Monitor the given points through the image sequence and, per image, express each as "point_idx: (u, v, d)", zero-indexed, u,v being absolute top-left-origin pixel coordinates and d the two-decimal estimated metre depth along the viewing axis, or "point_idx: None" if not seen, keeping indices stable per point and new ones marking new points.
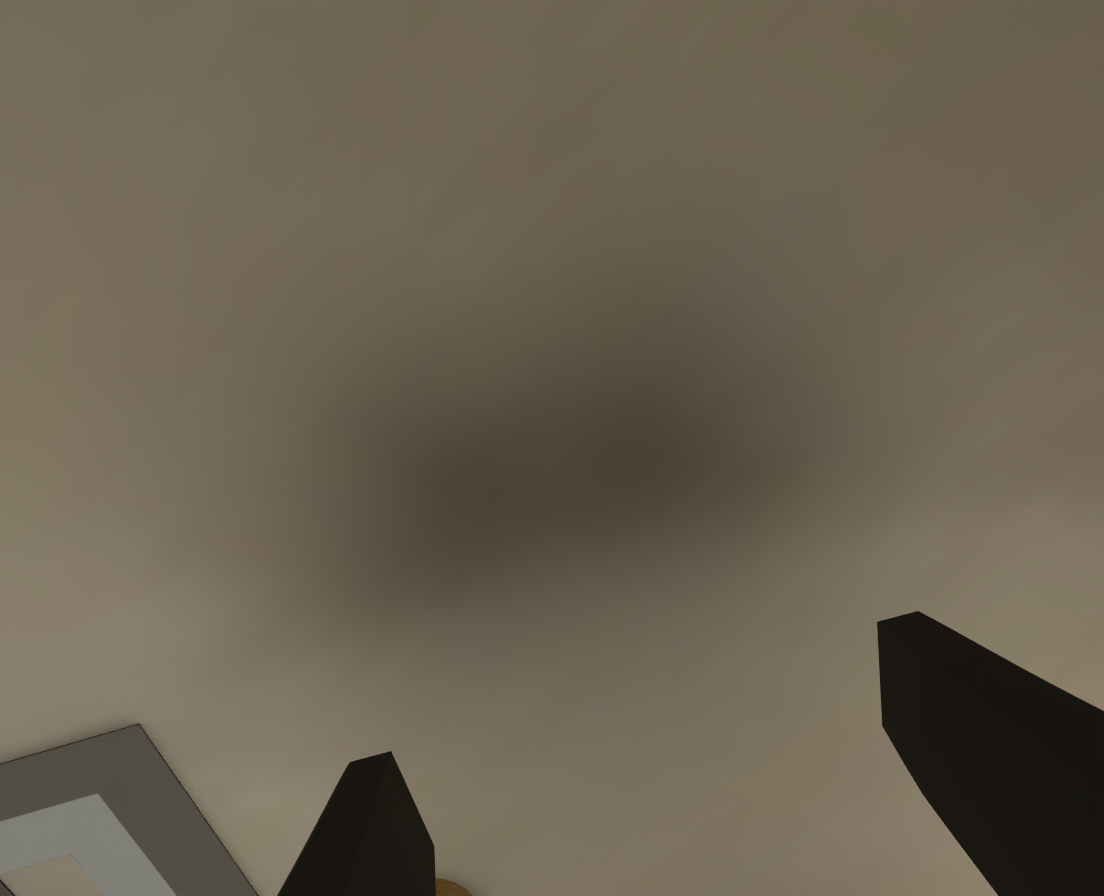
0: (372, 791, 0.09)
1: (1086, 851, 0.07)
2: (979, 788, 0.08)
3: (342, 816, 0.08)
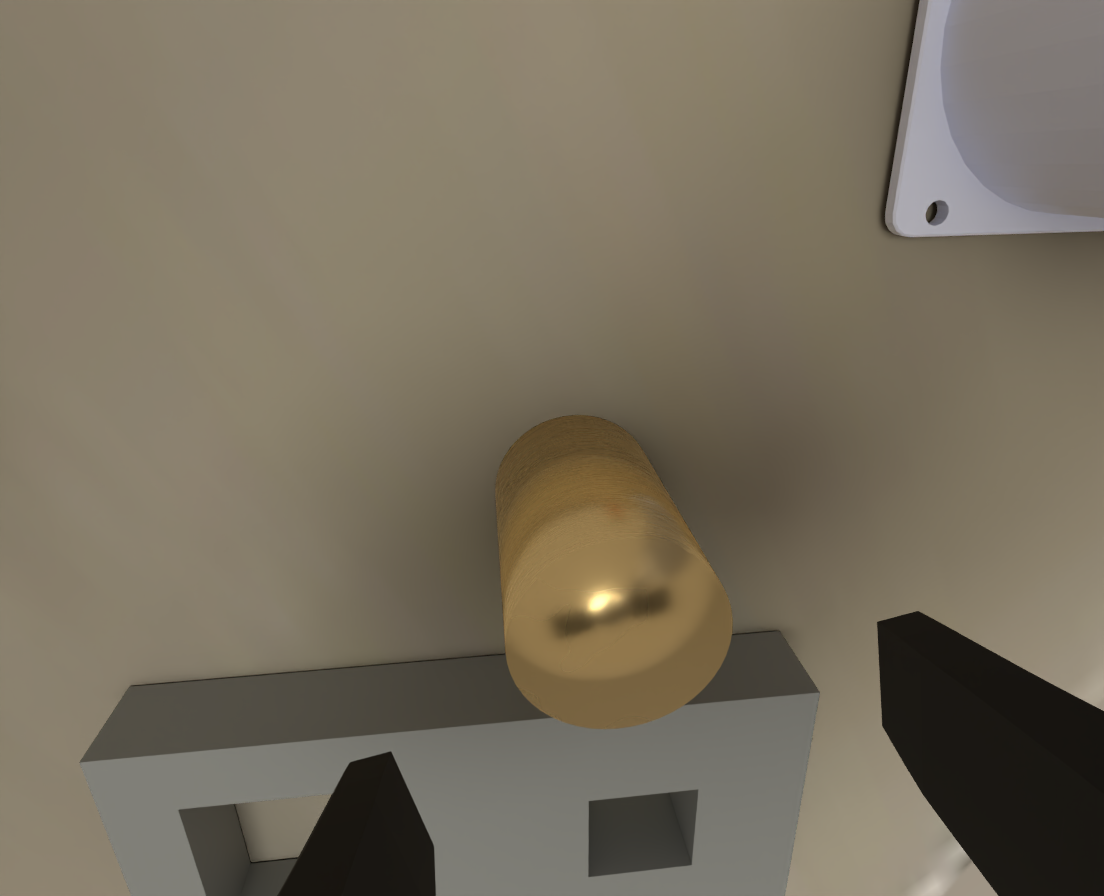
0: (372, 791, 0.09)
1: (1086, 851, 0.07)
2: (978, 787, 0.08)
3: (342, 816, 0.08)
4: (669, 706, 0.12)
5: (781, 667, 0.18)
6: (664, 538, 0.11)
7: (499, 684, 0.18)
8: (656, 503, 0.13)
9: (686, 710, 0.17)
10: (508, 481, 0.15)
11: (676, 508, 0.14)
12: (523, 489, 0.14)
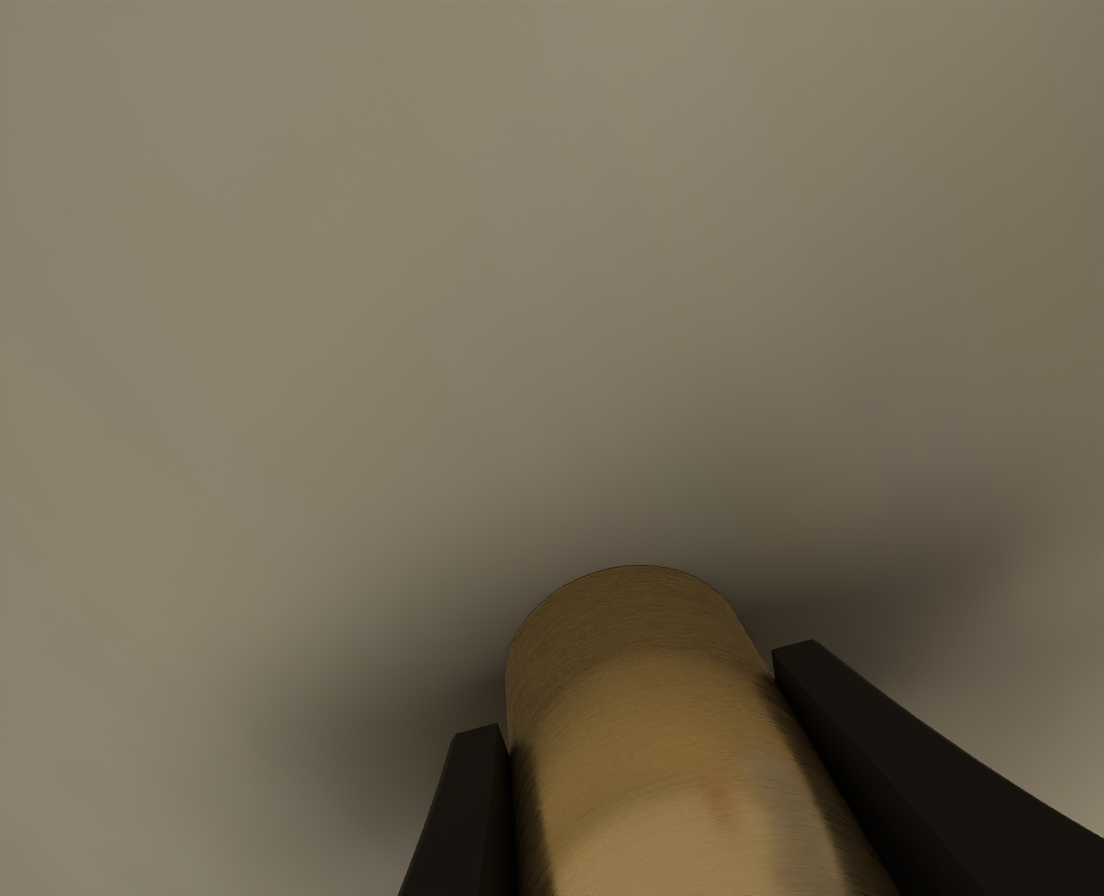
0: (488, 760, 0.09)
1: (933, 892, 0.07)
2: None
3: (464, 784, 0.08)
4: None
5: None
6: None
7: None
8: (820, 816, 0.07)
9: None
10: (529, 695, 0.09)
11: (833, 782, 0.08)
12: (557, 740, 0.08)
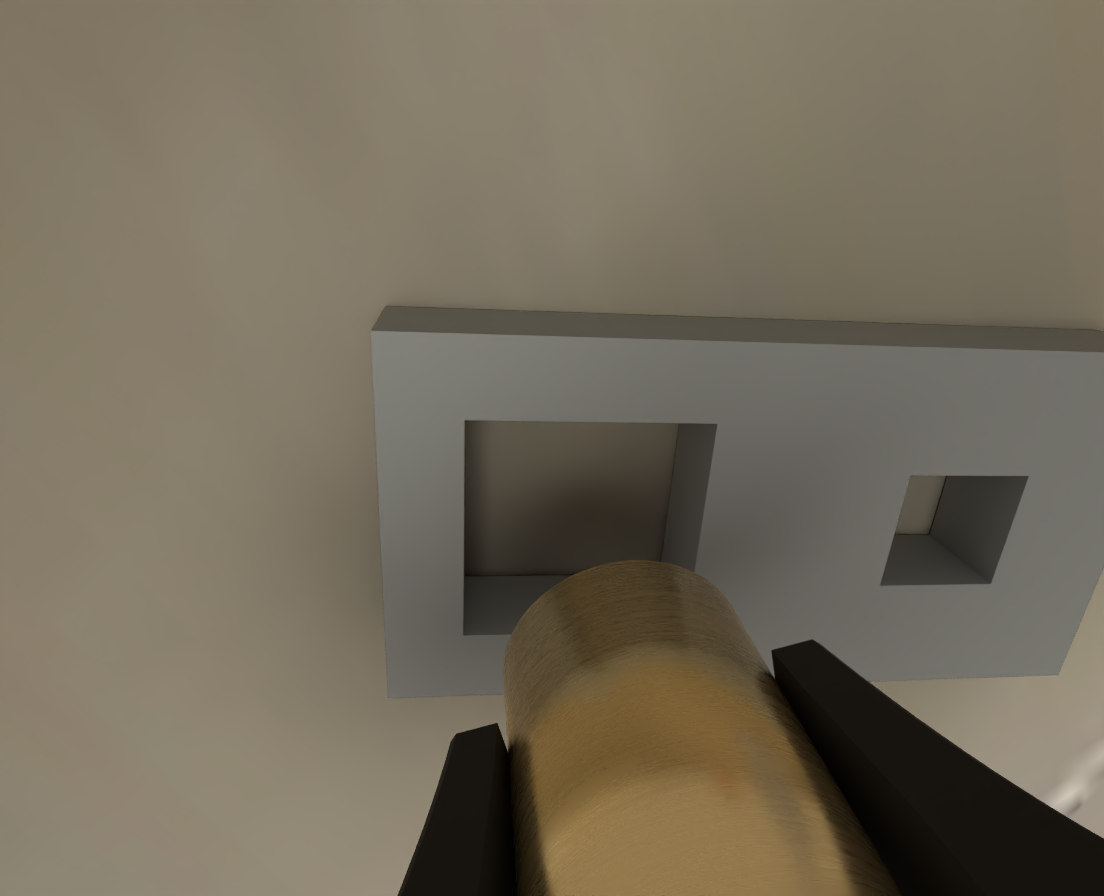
0: (488, 760, 0.09)
1: (933, 892, 0.07)
2: None
3: (463, 784, 0.08)
4: None
5: None
6: None
7: (821, 330, 0.15)
8: (822, 808, 0.07)
9: (1049, 358, 0.15)
10: (530, 684, 0.09)
11: (832, 778, 0.08)
12: (561, 728, 0.08)
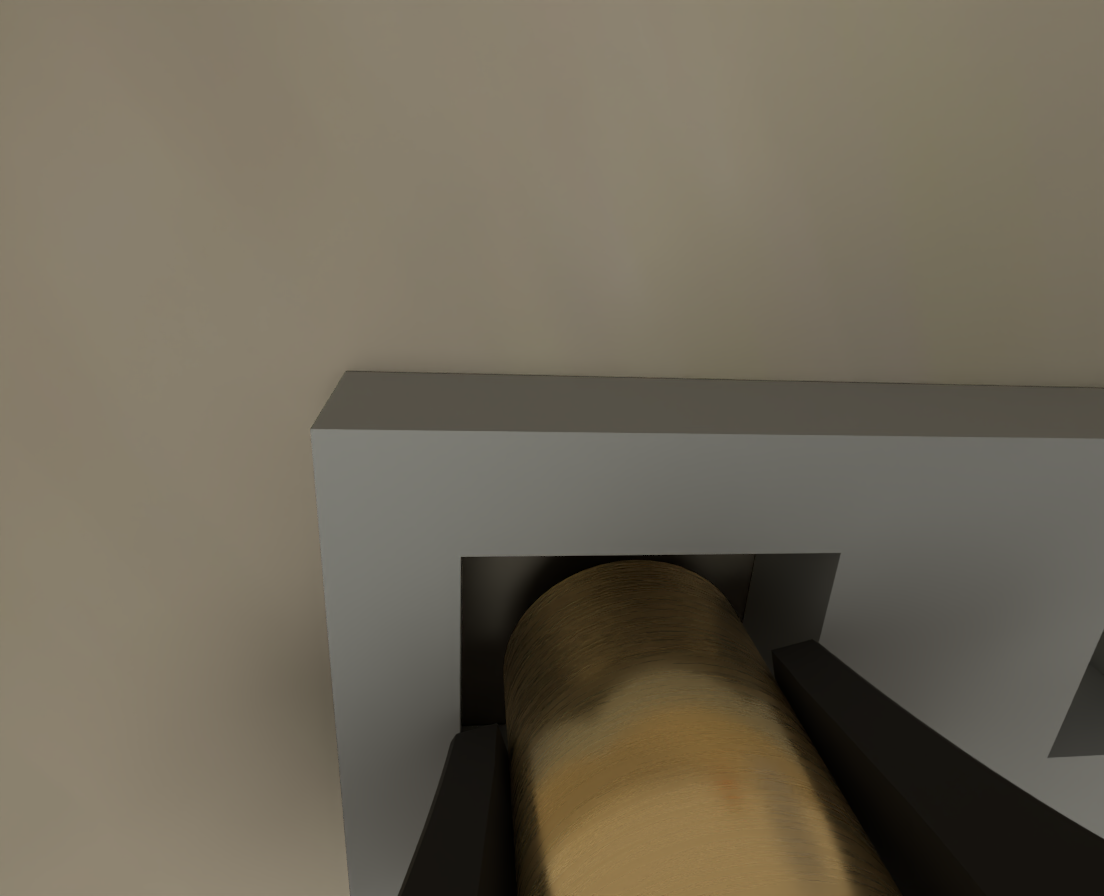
0: (488, 760, 0.09)
1: (933, 892, 0.07)
2: None
3: (463, 784, 0.08)
4: None
5: None
6: None
7: (982, 405, 0.11)
8: (822, 808, 0.07)
9: None
10: (530, 684, 0.09)
11: (832, 778, 0.08)
12: (561, 728, 0.08)
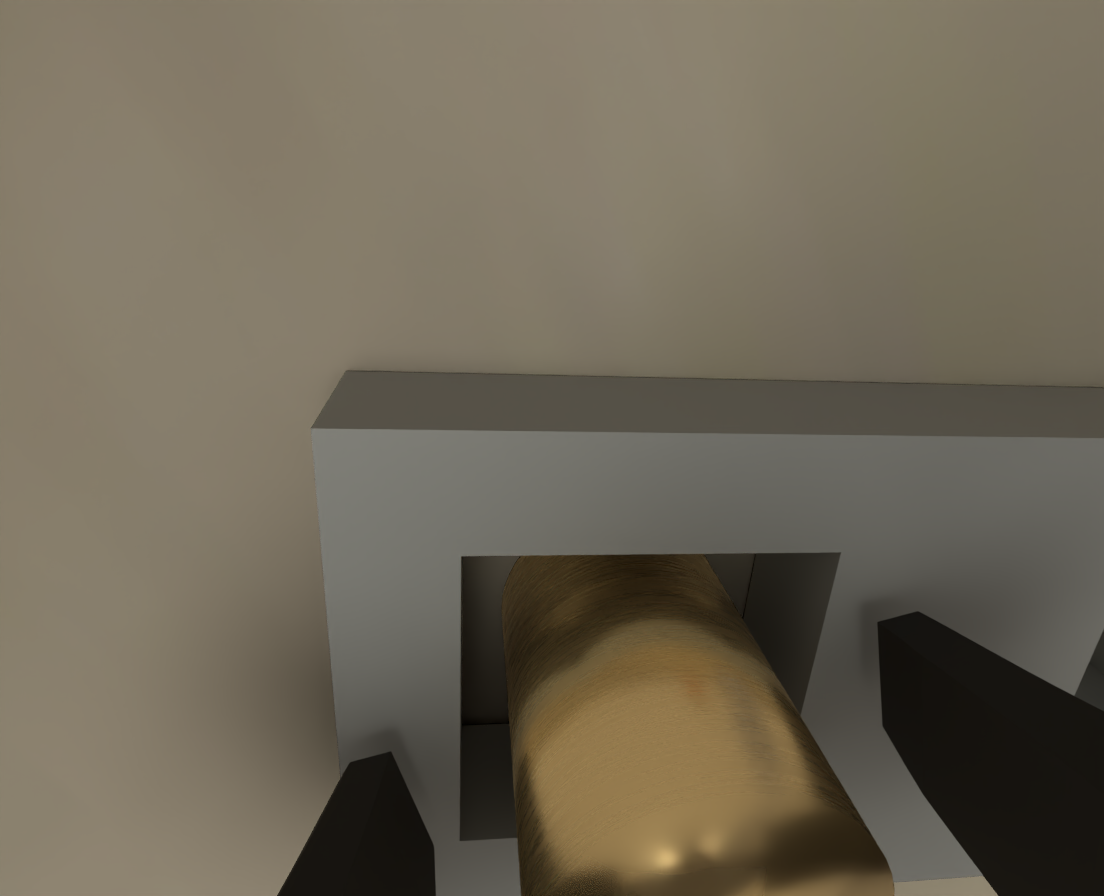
0: (372, 791, 0.09)
1: (1086, 851, 0.07)
2: (980, 788, 0.08)
3: (342, 816, 0.08)
4: None
5: None
6: (800, 785, 0.07)
7: (983, 405, 0.11)
8: (761, 689, 0.08)
9: None
10: (524, 610, 0.11)
11: (777, 677, 0.09)
12: (549, 638, 0.10)
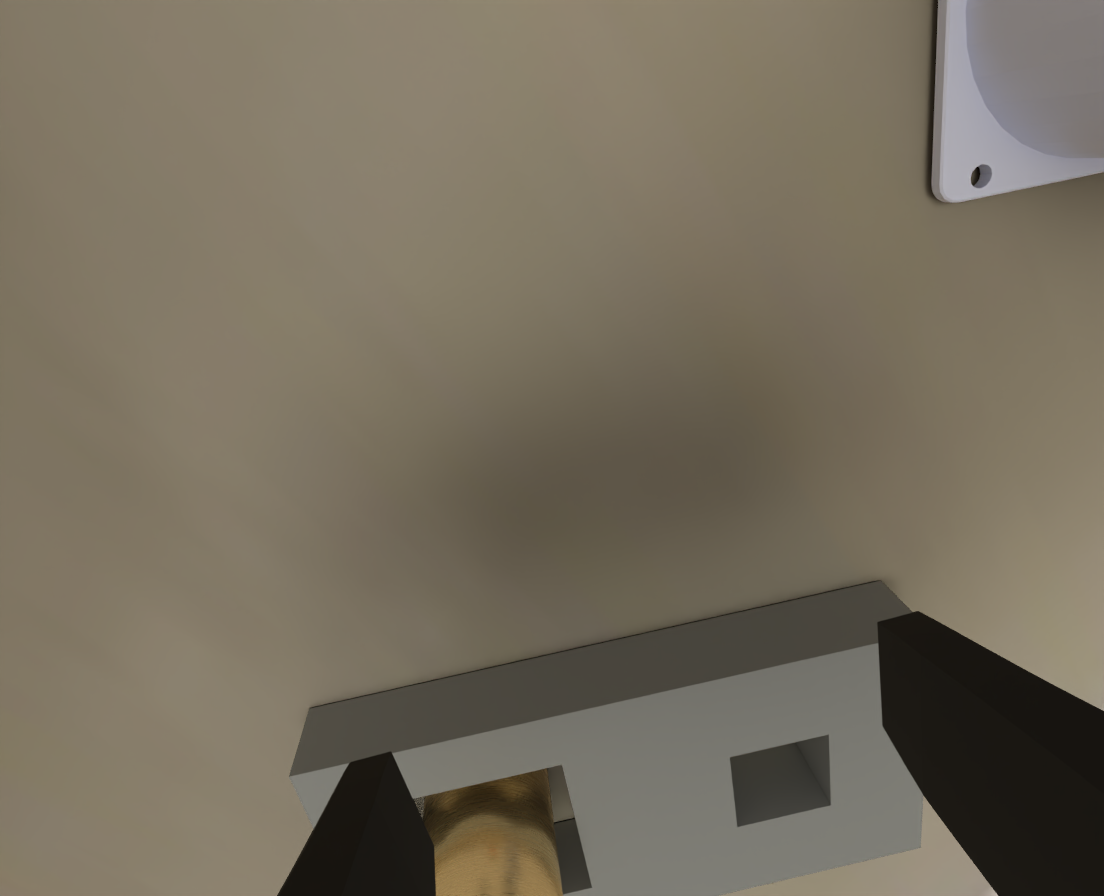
0: (372, 791, 0.09)
1: (1086, 851, 0.07)
2: (980, 788, 0.08)
3: (342, 816, 0.08)
4: None
5: (890, 613, 0.20)
6: None
7: (633, 663, 0.20)
8: (511, 855, 0.18)
9: (809, 663, 0.19)
10: (425, 808, 0.21)
11: (537, 835, 0.19)
12: (428, 832, 0.19)
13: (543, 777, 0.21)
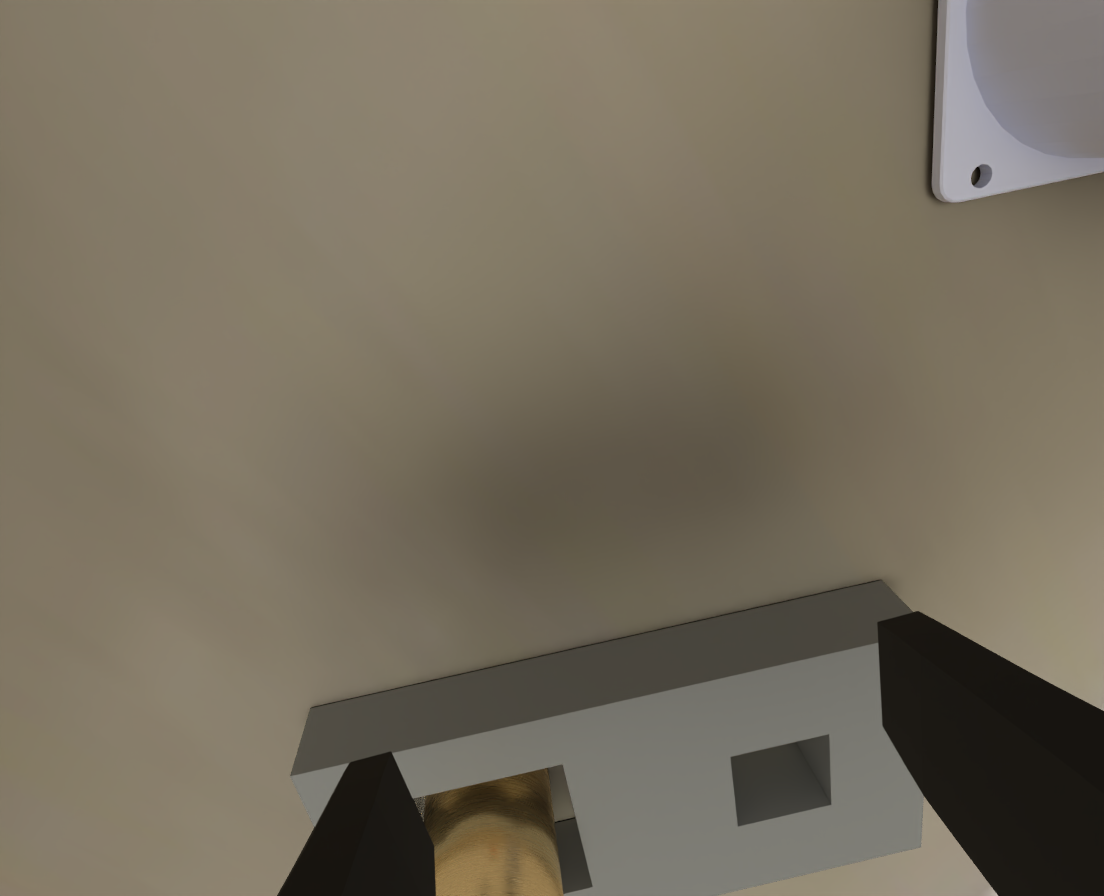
0: (372, 791, 0.09)
1: (1086, 851, 0.07)
2: (979, 788, 0.08)
3: (342, 816, 0.08)
4: None
5: (890, 613, 0.20)
6: None
7: (633, 663, 0.20)
8: (512, 855, 0.18)
9: (809, 663, 0.19)
10: (426, 807, 0.21)
11: (538, 835, 0.19)
12: (429, 832, 0.19)
13: (544, 777, 0.21)
